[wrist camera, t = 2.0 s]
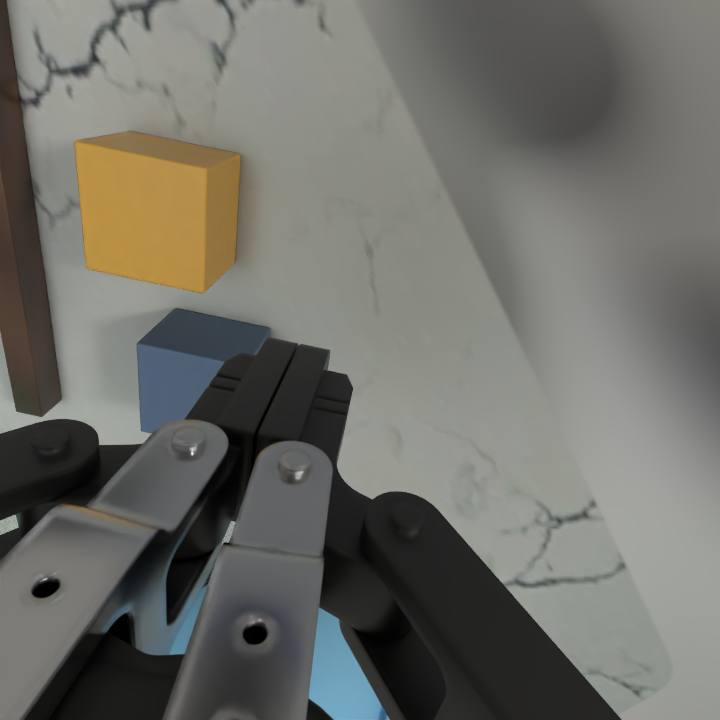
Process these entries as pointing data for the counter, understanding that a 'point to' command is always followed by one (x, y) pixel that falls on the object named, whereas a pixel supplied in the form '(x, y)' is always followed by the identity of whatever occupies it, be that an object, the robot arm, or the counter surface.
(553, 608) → the counter surface
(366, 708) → the decorative pot
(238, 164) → the ochre block
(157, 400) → the slate block
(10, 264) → the straightedge
